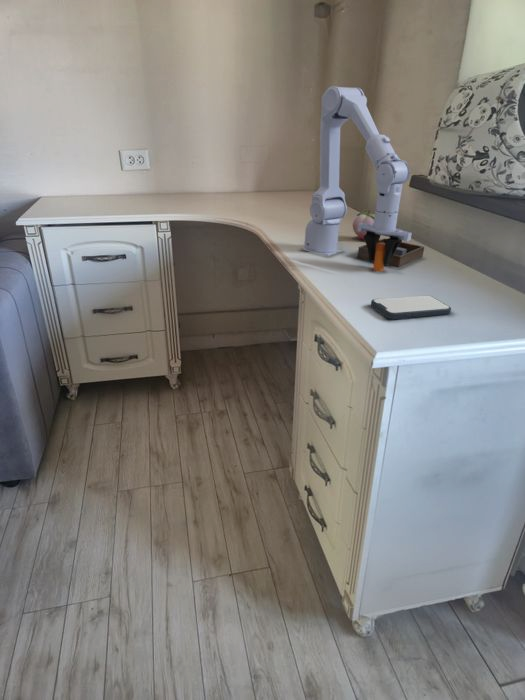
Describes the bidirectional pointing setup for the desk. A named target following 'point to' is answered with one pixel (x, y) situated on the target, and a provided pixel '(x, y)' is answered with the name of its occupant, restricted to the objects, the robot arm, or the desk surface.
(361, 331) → the desk surface
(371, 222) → the decorative fruit
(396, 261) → the box
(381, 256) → the glue stick
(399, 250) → the eraser
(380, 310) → the phone case
